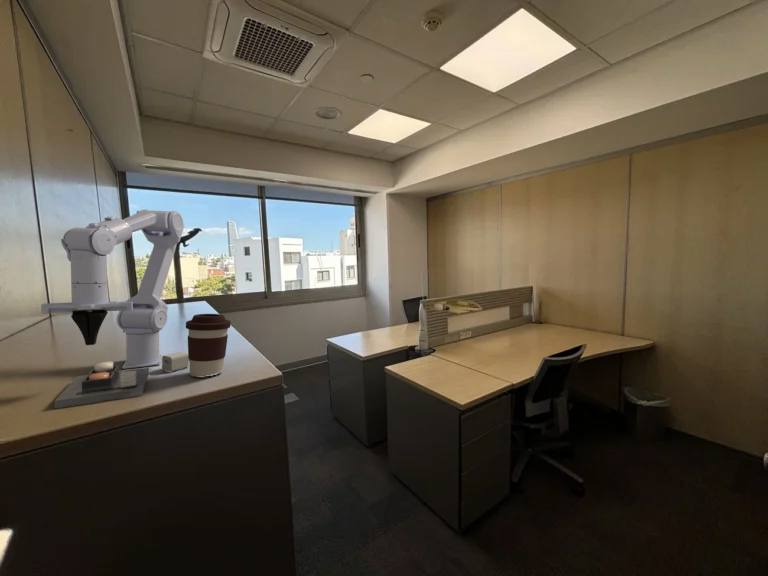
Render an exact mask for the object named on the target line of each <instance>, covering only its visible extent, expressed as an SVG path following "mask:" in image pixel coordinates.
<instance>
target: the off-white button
mask: <svg viewBox="0 0 768 576" xmlns="http://www.w3.org/2000/svg"><path fill="white" fill-rule="evenodd" d="M113 366H114V362H113V361H102V362H98V363H95V364H94V368H95V372H107V371H111V370H113Z"/></svg>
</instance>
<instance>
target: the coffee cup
mask: <svg viewBox="0 0 768 576" xmlns="http://www.w3.org/2000/svg"><path fill="white" fill-rule="evenodd" d="M230 328H231V320H229V319H226V317H225V315H224V314H220V313H200V314H199V313H197V314H194V315H193V317H192V318H191V320H186V322H185V329H187V330H188V335H187V354H188V358H189V361H188V362H189V375H190V376H191V375H192V377H194V376H206V375H211V374H215V373H218V372H220V371H221V370H222V369H223V370H224V362H225V357H226V353H227V347H228V346H227V344H228V338H229V337H228V336H229V334H228V330H229V329H230Z"/></svg>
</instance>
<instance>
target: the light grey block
mask: <svg viewBox="0 0 768 576" xmlns="http://www.w3.org/2000/svg"><path fill="white" fill-rule="evenodd" d="M120 379H121V387H127V386H134V385H136V382H137V379H136V371H128V372H122V373H121V375H120Z"/></svg>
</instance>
